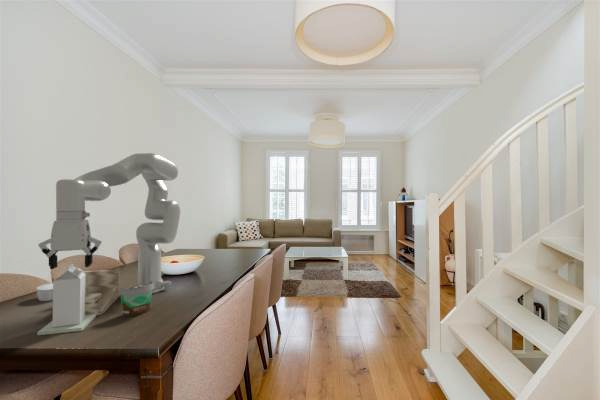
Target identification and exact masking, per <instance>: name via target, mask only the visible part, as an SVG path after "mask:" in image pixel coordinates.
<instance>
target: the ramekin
mask: <svg viewBox="0 0 600 400" xmlns="http://www.w3.org/2000/svg"><path fill="white" fill-rule="evenodd" d="M35 288H36V289H35V291H36V295H37V299H38V300H39V302H51V301H52V302H53V282H51V283H44V284H42V285H39V286H37V287H35Z"/></svg>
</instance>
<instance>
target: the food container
mask: <svg viewBox="0 0 600 400" xmlns="http://www.w3.org/2000/svg"><path fill="white" fill-rule="evenodd" d="M153 289H154V284H153V282H152V281H150V283H149V284H146V285H138V284H137V285H135V286H132V287H129V288H122V287H121V288H120V289H119V290H118V295H120V298H121V301H120V302H121V309H122V316H132V317H133V316H139V315H143V314H145V313H147V312H149V311H150V310H151V302H152V294H153V293H152V290H153Z"/></svg>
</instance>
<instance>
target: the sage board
mask: <svg viewBox="0 0 600 400" xmlns="http://www.w3.org/2000/svg"><path fill="white" fill-rule="evenodd" d="M96 317H97V315H96V314H89V315H85V317H84V318H83V320H82V321H81V323H80V324H74V325H67V326H60V327H52V326H53V320H51V321H50V322H49V323H48V324H46V325H45V326H43V327H42V328H41V329H39V330H38V331H37V336H44V335H55V334H63V333H72V332H81V331H82V332H83V330H85V328H86V327H87V326H88V325H90V323H92V322H93V320H94V319H96Z"/></svg>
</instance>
